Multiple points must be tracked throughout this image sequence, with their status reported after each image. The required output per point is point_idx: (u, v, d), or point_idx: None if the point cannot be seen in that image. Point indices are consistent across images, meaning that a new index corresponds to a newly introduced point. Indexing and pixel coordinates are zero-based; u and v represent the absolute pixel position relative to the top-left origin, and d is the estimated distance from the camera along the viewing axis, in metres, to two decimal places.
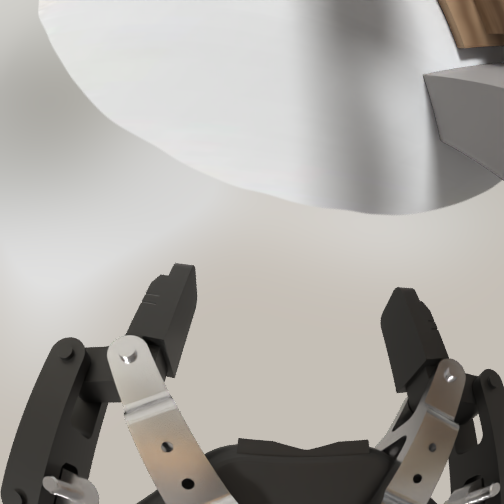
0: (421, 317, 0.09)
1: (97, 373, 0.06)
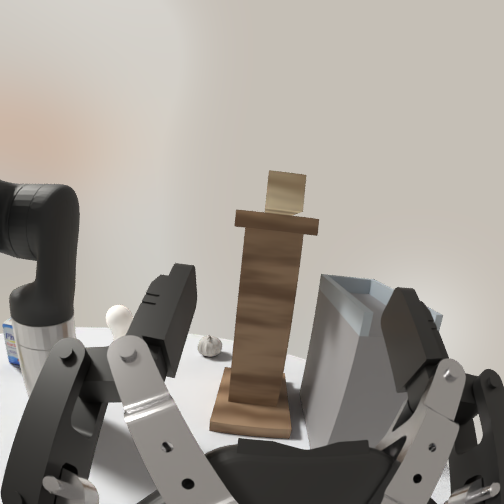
0: (421, 317, 0.09)
1: (97, 373, 0.06)
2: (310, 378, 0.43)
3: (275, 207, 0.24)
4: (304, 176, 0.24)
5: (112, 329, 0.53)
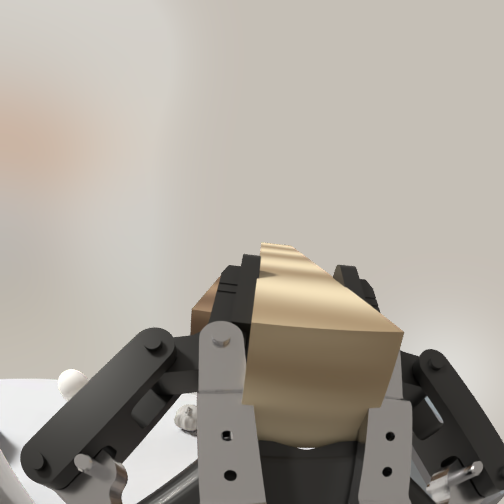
0: (357, 292, 0.09)
1: (179, 373, 0.07)
2: None
3: None
4: (396, 339, 0.05)
5: (66, 400, 0.34)
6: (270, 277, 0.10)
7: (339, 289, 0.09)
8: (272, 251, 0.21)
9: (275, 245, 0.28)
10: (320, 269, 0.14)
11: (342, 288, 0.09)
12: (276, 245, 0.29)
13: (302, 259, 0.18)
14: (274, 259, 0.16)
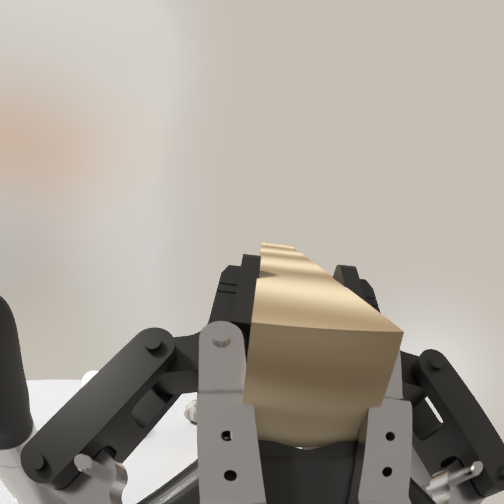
0: (357, 292, 0.09)
1: (179, 373, 0.07)
2: None
3: None
4: (396, 338, 0.05)
5: None
6: (270, 277, 0.10)
7: (339, 289, 0.09)
8: (272, 251, 0.21)
9: (275, 245, 0.29)
10: (320, 269, 0.14)
11: (342, 288, 0.09)
12: (276, 245, 0.29)
13: (302, 259, 0.18)
14: (274, 259, 0.16)
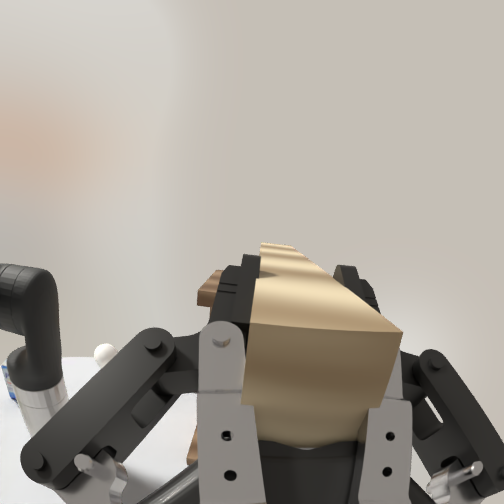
0: (357, 292, 0.09)
1: (179, 373, 0.07)
2: None
3: None
4: (395, 339, 0.05)
5: (100, 366, 0.54)
6: (269, 277, 0.10)
7: (338, 289, 0.09)
8: (272, 251, 0.21)
9: (275, 245, 0.28)
10: (319, 269, 0.14)
11: (341, 288, 0.09)
12: (276, 245, 0.29)
13: (302, 259, 0.18)
14: (274, 259, 0.16)
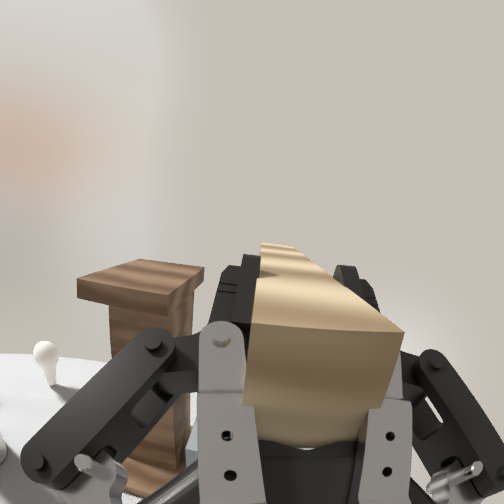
0: (357, 292, 0.09)
1: (179, 373, 0.07)
2: None
3: None
4: (397, 339, 0.05)
5: (39, 365, 0.43)
6: (270, 277, 0.10)
7: (339, 289, 0.09)
8: (272, 251, 0.21)
9: (275, 245, 0.28)
10: (320, 269, 0.14)
11: (342, 288, 0.09)
12: (276, 245, 0.29)
13: (302, 259, 0.18)
14: (274, 259, 0.16)
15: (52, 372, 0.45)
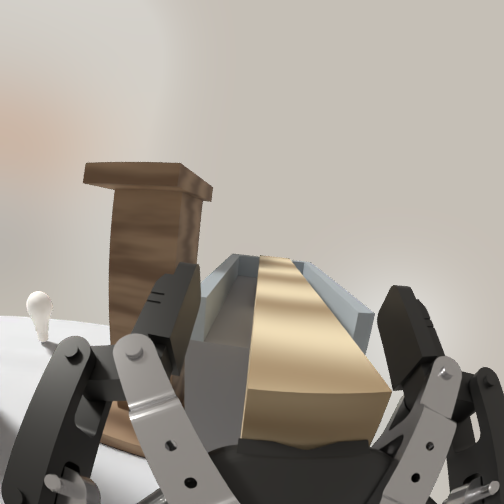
0: (417, 315, 0.09)
1: (102, 372, 0.07)
2: None
3: None
4: (384, 397, 0.05)
5: (31, 316, 0.42)
6: (267, 316, 0.10)
7: (335, 330, 0.09)
8: (270, 270, 0.21)
9: (273, 259, 0.29)
10: (317, 297, 0.14)
11: (338, 328, 0.09)
12: (274, 259, 0.29)
13: (300, 281, 0.18)
14: (272, 284, 0.16)
15: (44, 326, 0.44)
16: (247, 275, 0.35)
